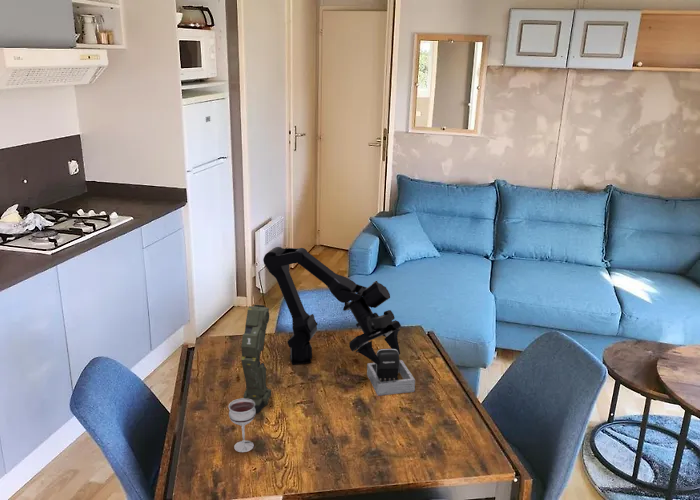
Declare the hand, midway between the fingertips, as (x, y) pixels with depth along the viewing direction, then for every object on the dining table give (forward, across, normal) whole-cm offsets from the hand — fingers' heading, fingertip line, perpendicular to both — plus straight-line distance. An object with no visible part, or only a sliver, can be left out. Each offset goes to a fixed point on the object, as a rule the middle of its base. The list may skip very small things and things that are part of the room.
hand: (389, 359), depth 181 cm
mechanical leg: (-8, -36, +20) cm, 42 cm away
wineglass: (+3, -51, +9) cm, 52 cm away
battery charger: (+6, -1, +5) cm, 8 cm away
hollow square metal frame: (+6, 0, +5) cm, 8 cm away
